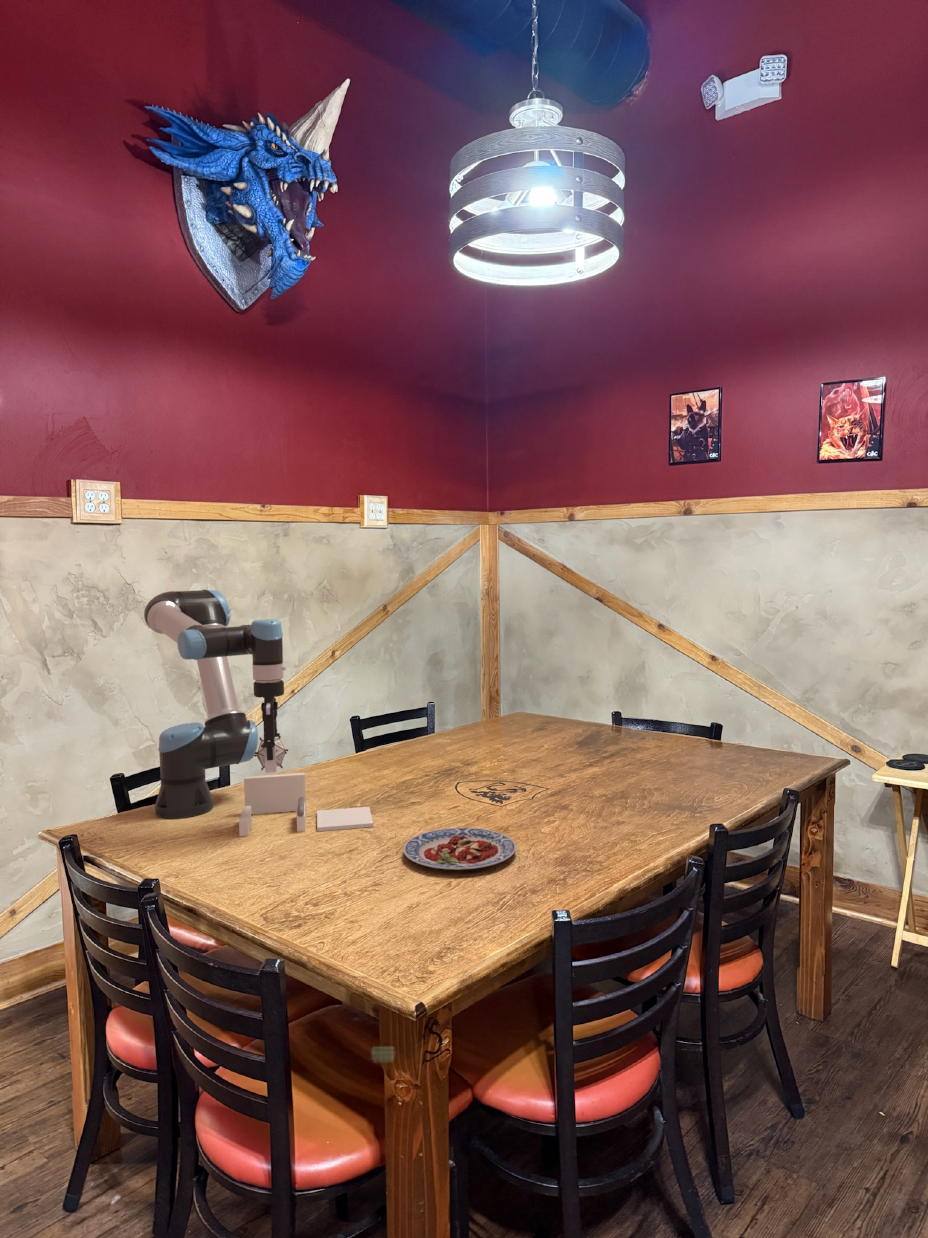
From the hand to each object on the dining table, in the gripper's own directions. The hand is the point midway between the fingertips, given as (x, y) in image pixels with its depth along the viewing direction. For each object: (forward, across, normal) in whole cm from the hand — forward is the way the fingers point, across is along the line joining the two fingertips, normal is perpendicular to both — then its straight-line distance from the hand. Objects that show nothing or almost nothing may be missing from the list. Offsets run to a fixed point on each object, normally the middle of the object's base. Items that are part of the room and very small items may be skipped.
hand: (271, 767), depth 202 cm
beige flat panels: (+15, +3, 0) cm, 16 cm away
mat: (+15, 0, -18) cm, 24 cm away
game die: (0, 0, 0) cm, 1 cm away
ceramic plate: (+16, -31, -43) cm, 55 cm away
